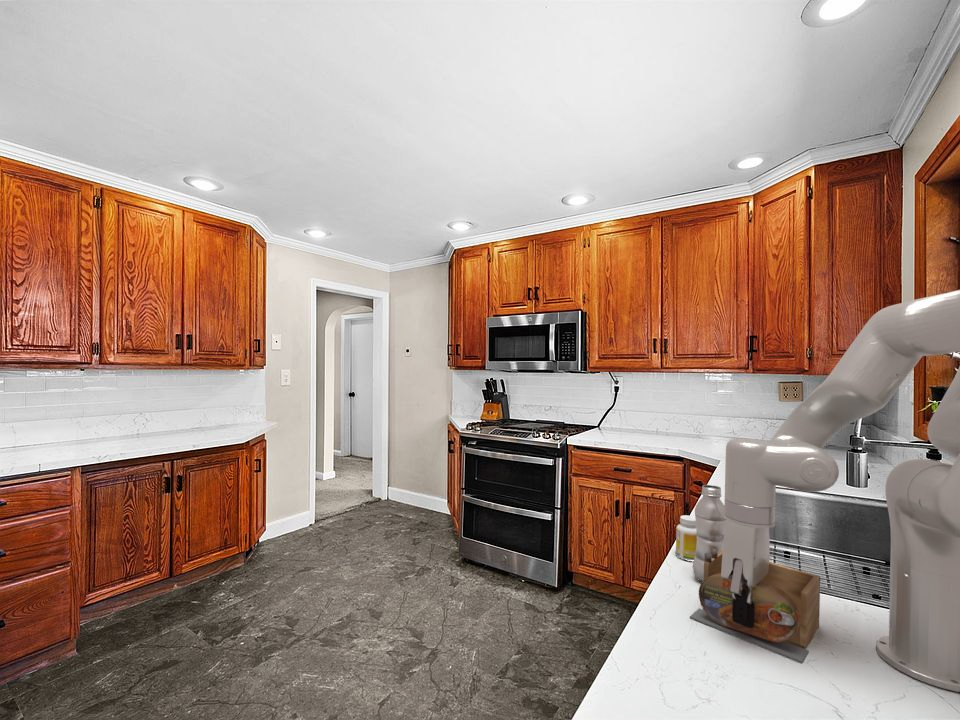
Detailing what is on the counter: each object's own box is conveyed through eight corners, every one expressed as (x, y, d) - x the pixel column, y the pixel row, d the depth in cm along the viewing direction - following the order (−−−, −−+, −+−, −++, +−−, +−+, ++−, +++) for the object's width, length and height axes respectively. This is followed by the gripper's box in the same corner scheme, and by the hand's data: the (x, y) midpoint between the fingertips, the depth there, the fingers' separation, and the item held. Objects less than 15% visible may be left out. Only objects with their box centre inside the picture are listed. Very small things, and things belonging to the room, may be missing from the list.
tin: (699, 618, 83) (696, 570, 84) (706, 611, 86) (703, 565, 86) (798, 651, 73) (794, 597, 73) (803, 642, 75) (799, 589, 75)
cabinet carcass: (819, 627, 82) (820, 568, 82) (805, 650, 75) (806, 585, 75) (721, 593, 94) (722, 541, 94) (701, 610, 87) (703, 554, 87)
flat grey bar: (808, 652, 75) (808, 650, 75) (802, 663, 72) (802, 661, 72) (699, 609, 87) (699, 608, 87) (689, 618, 84) (689, 616, 84)
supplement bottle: (671, 555, 112) (672, 515, 112) (684, 551, 115) (685, 512, 115) (691, 564, 108) (692, 522, 108) (705, 559, 111) (706, 519, 111)
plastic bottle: (687, 580, 99) (689, 486, 100) (700, 571, 104) (702, 481, 104) (718, 591, 95) (721, 492, 95) (731, 582, 99) (733, 487, 99)
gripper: (740, 499, 88) (738, 597, 88) (707, 516, 77) (704, 628, 76) (787, 509, 82) (784, 613, 82) (759, 528, 71) (756, 649, 71)
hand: (746, 619), depth 79 cm, fingers closed on tin, 2 cm apart
